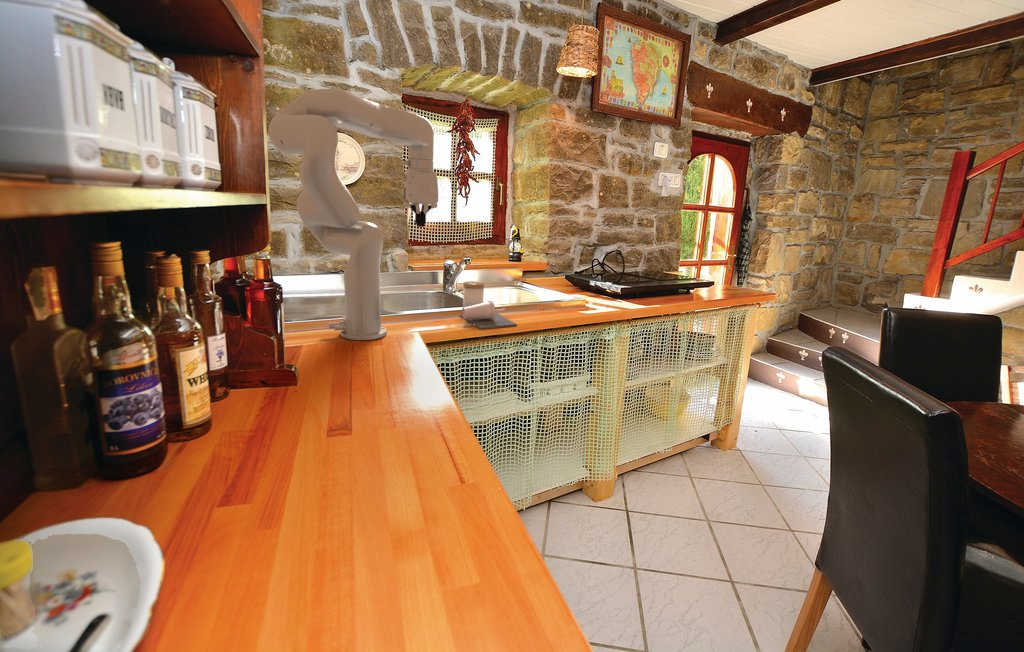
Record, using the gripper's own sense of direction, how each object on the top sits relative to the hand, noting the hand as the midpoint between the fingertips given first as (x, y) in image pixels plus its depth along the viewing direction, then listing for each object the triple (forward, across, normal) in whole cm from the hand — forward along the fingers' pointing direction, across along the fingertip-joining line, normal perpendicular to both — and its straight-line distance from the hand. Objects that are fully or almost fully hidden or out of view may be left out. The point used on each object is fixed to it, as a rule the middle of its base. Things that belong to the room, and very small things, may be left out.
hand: (420, 226), depth 153 cm
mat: (+29, +18, -14) cm, 37 cm away
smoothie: (+26, +10, -14) cm, 31 cm away
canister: (+29, +19, -1) cm, 35 cm away
